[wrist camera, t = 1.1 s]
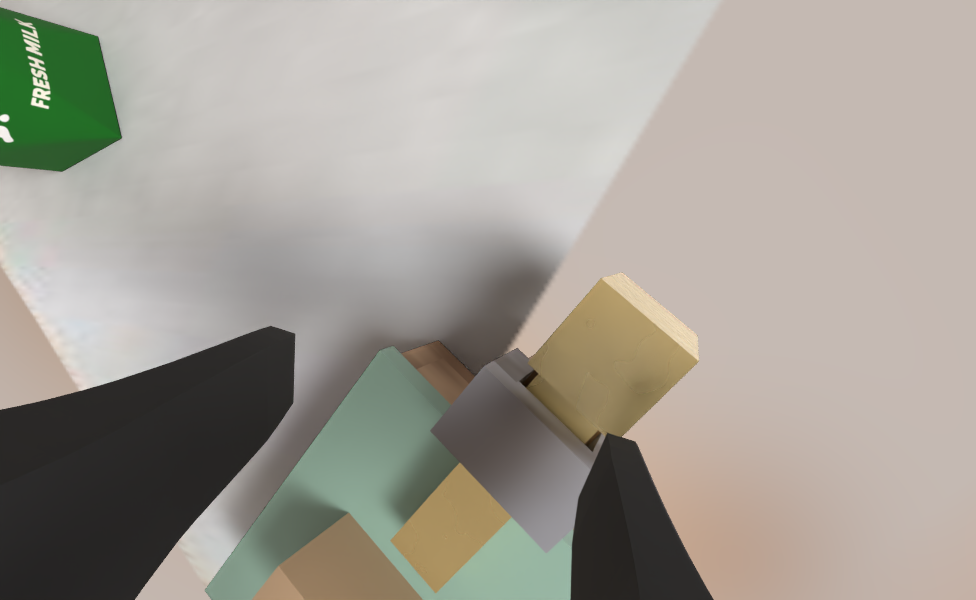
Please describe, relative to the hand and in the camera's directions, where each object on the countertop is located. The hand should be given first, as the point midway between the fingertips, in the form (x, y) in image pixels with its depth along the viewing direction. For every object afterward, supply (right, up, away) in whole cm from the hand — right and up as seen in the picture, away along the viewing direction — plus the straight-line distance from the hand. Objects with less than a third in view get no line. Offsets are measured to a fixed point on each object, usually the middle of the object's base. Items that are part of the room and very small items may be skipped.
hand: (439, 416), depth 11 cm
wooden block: (+3, -2, +7) cm, 8 cm away
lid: (-3, -10, +11) cm, 16 cm away
